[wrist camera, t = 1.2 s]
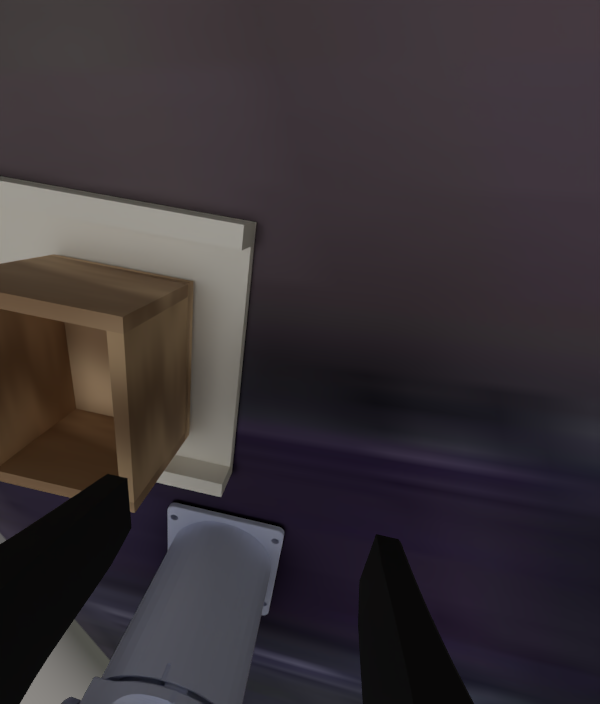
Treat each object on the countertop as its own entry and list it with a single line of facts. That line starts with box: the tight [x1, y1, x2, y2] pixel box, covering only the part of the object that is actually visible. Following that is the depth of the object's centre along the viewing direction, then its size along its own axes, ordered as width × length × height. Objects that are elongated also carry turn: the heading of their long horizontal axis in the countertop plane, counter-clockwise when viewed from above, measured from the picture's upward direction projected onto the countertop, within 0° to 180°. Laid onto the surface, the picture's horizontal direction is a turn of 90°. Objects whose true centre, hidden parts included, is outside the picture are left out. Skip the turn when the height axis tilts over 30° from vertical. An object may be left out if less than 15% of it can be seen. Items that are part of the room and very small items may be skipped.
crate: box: [0, 254, 194, 513], centre depth 16 cm, size 9×7×6 cm
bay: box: [0, 176, 257, 497], centre depth 18 cm, size 15×20×2 cm
